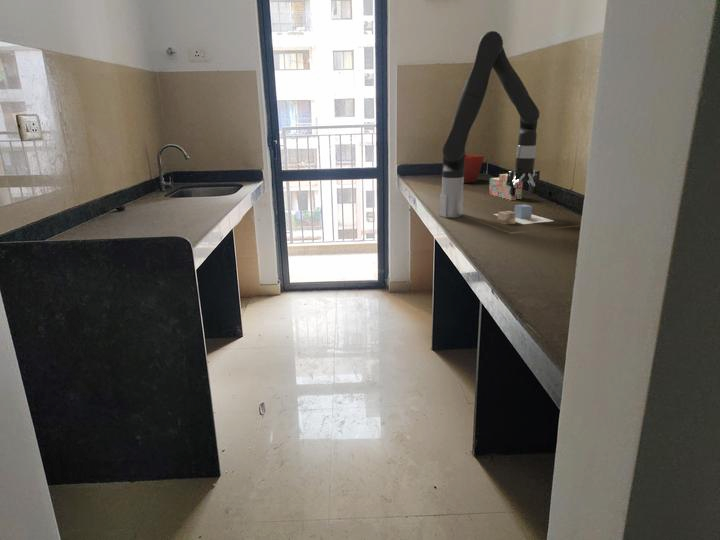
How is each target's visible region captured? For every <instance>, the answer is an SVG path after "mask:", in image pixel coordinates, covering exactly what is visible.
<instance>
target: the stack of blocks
mask: <svg viewBox="0 0 720 540" xmlns="http://www.w3.org/2000/svg"><path fill="white" fill-rule="evenodd" d="M507 177H508V173H502V174H501V173H499V175H498V177H490V178H489V180H488V181H489V183H488V184H489V187H488V190H489V191H488V195H489V194H490V195H489V196H492V195H494V196H493V197H495V196H498V197H497V198H499V197H502V198H501V199H503V198H506V199H505V200H507V199H509V200H508V201H510V200H514V201H517V200H516V199H521V200H522V197H523V186H524V181H523V182H521V181H520V183H518V184H517V186H516V187H515V188H516V192H515V196H511V195H510V186H508V185H506V184H507ZM514 178H515V175H514V177H513V179H514Z"/></svg>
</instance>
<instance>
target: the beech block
mask: <svg viewBox="0 0 720 540" xmlns="http://www.w3.org/2000/svg"><path fill="white" fill-rule="evenodd" d="M497 214H498V216H497V221H496V222H497V223H499V224H502V225H512V224H514V225H515V224H516V222H515V220H516V213H514V211H511V210H504V211H502V210H501V211H498V212H497Z"/></svg>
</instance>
